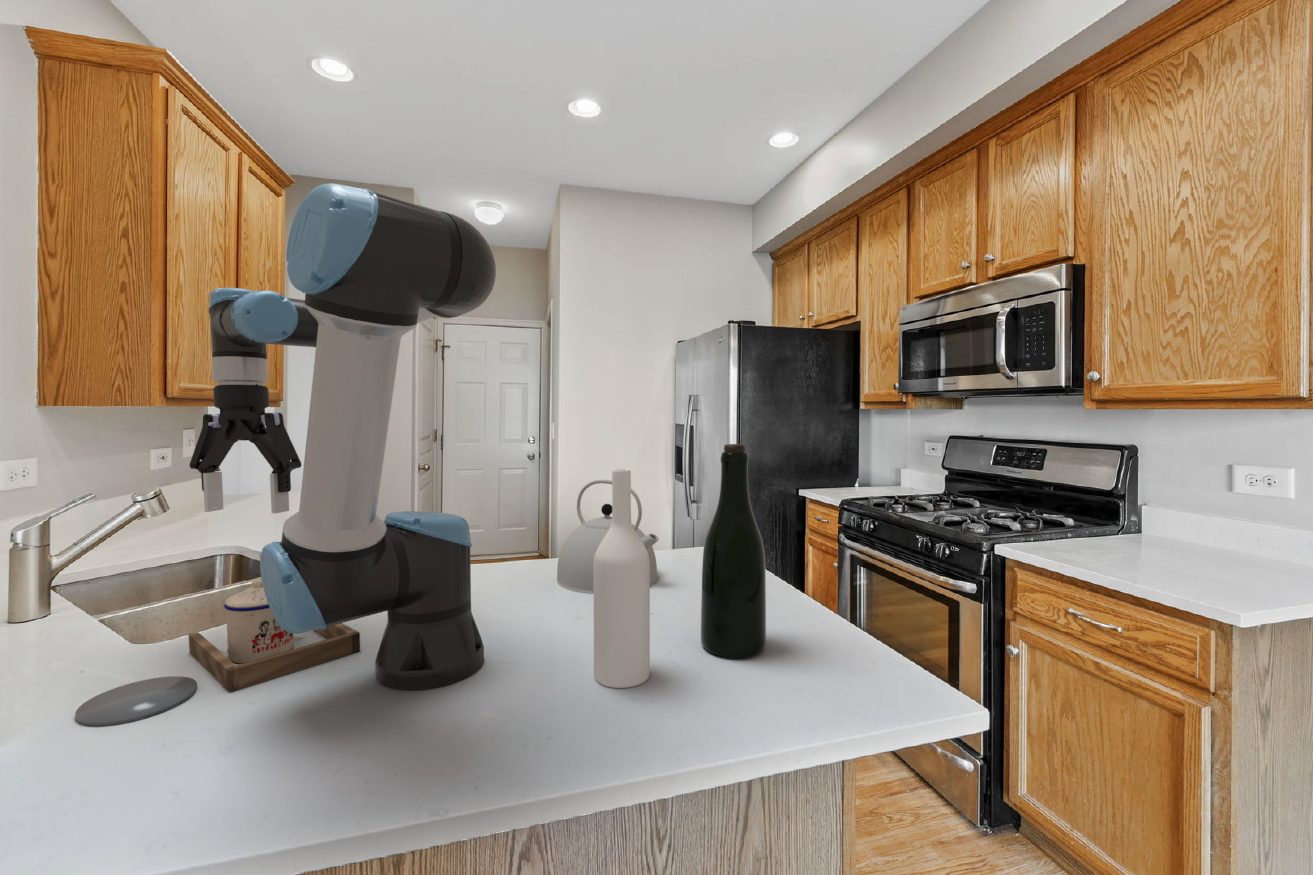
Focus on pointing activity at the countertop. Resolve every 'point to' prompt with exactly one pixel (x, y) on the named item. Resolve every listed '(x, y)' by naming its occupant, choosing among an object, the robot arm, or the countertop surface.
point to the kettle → (594, 547)
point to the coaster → (136, 701)
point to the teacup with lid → (253, 626)
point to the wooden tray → (274, 658)
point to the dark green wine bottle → (733, 568)
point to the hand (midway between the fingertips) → (246, 511)
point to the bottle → (621, 596)
